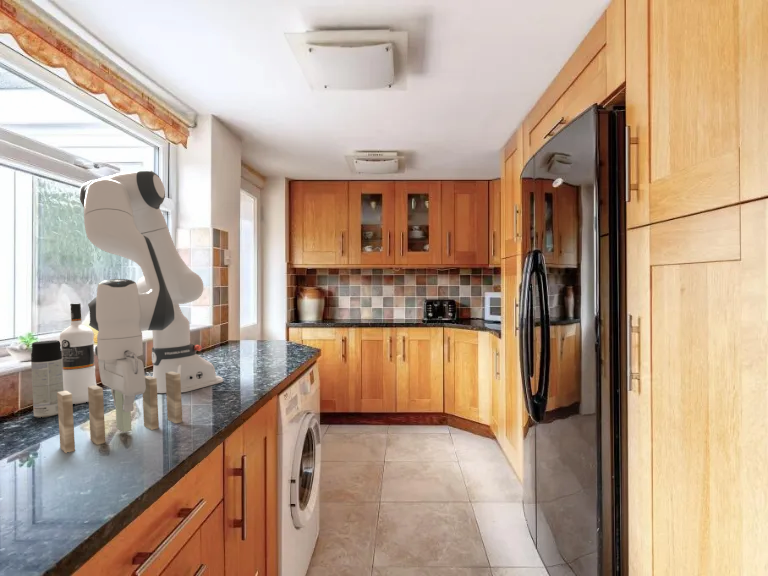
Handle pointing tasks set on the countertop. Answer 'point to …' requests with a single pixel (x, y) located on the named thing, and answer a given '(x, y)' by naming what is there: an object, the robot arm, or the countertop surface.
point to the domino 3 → (122, 414)
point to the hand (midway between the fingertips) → (123, 408)
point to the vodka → (77, 357)
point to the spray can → (46, 377)
